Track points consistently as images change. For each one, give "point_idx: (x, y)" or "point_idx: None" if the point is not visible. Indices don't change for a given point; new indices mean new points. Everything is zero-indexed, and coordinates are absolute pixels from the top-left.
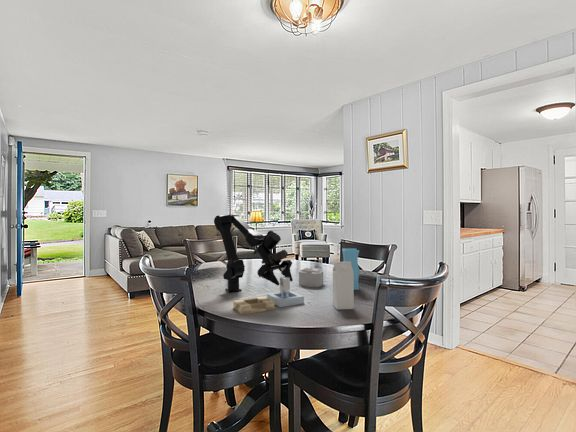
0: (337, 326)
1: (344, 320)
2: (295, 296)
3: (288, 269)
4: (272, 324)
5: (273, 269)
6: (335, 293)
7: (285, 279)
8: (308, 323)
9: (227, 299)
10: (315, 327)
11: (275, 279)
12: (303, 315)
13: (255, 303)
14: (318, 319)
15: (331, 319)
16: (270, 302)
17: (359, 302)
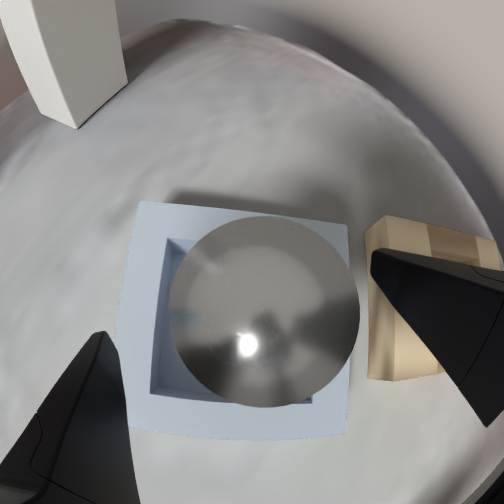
0: (251, 29)
1: (200, 35)
2: (193, 233)
3: (23, 487)
4: (406, 120)
5: (491, 481)
6: (104, 42)
7: (299, 232)
8: (308, 64)
9: (450, 490)
10: (305, 47)
11: (444, 260)
12: (283, 101)
13: (462, 254)
14: (260, 62)
15: (225, 48)
16: (405, 221)
17: (7, 120)
